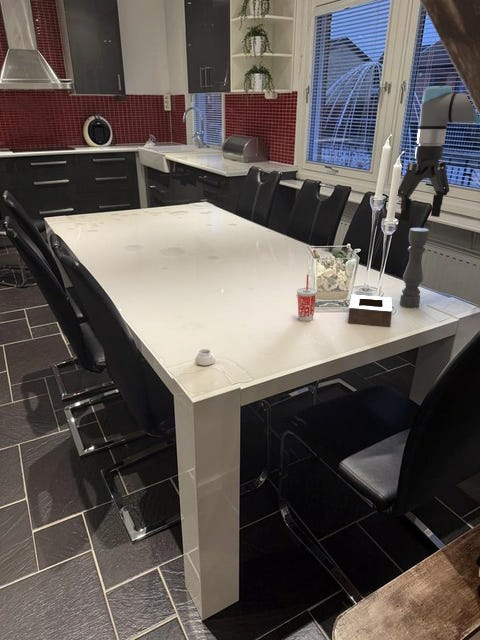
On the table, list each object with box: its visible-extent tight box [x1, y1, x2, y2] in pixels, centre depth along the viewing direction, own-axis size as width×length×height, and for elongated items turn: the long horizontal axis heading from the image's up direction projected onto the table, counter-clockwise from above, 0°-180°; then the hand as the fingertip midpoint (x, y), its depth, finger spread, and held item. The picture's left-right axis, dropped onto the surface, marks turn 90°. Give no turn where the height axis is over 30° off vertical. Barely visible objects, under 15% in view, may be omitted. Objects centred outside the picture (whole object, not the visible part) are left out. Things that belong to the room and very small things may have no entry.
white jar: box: [194, 348, 216, 366], centre depth 117 cm, size 5×3×5 cm
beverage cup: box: [296, 274, 318, 322], centre depth 142 cm, size 6×6×14 cm
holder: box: [347, 294, 393, 328], centre depth 143 cm, size 12×12×5 cm
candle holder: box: [399, 227, 430, 309], centre depth 150 cm, size 6×6×25 cm
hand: (419, 218), depth 144 cm, fingers open, 13 cm apart
